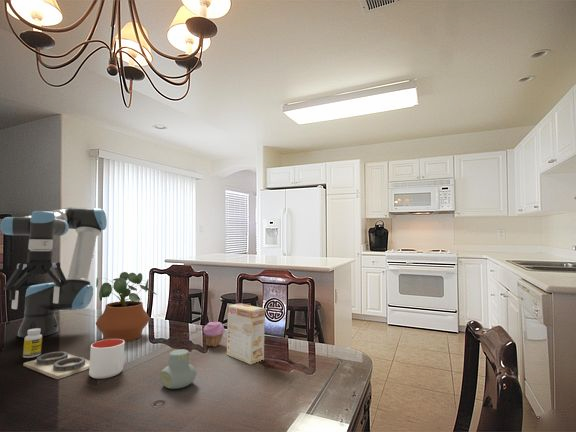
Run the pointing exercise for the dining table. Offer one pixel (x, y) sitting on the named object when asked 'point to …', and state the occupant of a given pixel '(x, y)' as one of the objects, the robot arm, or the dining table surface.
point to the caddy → (58, 364)
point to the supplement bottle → (32, 343)
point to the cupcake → (213, 333)
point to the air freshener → (178, 370)
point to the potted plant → (123, 309)
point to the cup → (106, 358)
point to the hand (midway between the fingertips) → (35, 305)
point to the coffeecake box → (246, 332)
